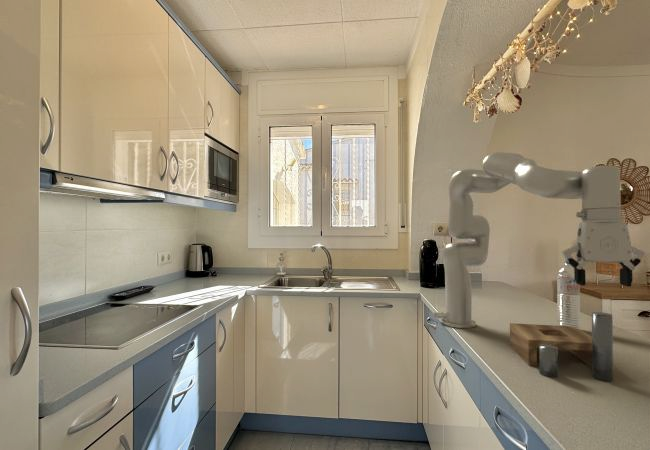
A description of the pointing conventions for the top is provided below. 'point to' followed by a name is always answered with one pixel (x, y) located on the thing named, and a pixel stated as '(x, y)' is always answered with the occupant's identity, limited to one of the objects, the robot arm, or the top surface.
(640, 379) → the top surface
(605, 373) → the long pin
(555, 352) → the short pin
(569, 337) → the bridge
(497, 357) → the top surface
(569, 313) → the water bottle
